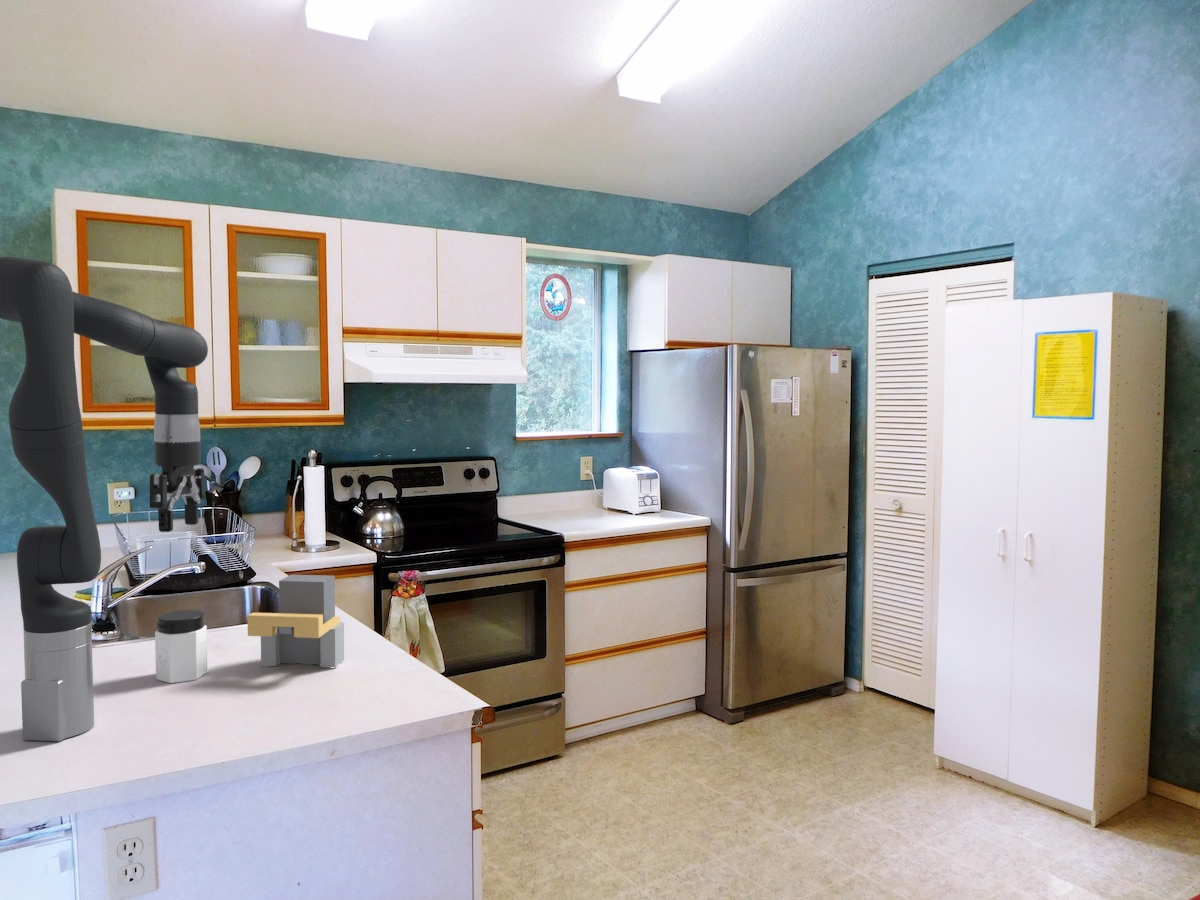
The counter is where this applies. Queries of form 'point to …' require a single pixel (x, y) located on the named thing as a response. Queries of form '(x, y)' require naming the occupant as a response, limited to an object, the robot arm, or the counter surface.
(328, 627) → the tan u-shaped bracket
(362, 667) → the counter surface
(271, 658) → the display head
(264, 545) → the counter surface
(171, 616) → the jar
